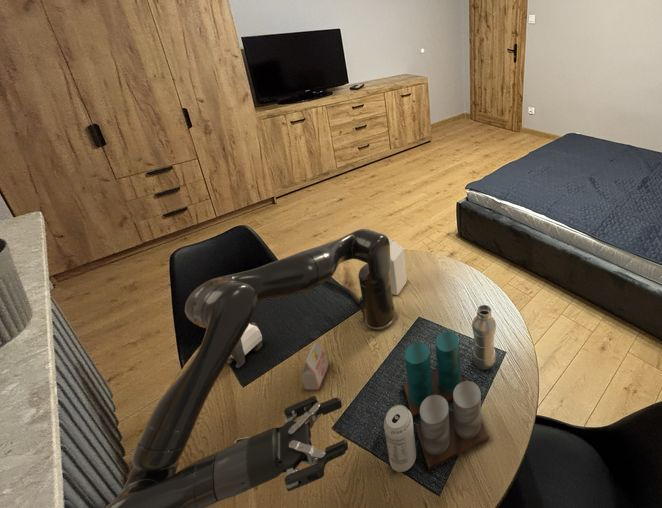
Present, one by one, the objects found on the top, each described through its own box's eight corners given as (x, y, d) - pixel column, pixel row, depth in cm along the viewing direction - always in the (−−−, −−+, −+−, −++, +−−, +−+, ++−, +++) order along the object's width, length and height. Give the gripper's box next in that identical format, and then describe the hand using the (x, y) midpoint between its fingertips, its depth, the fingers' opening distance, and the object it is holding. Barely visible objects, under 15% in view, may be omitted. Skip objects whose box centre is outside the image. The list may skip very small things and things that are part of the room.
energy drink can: (422, 453, 84) (417, 411, 78) (404, 480, 79) (398, 437, 73) (402, 438, 87) (396, 396, 81) (384, 463, 82) (376, 421, 76)
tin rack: (428, 470, 81) (425, 436, 76) (416, 430, 89) (413, 397, 84) (488, 439, 87) (489, 405, 82) (472, 404, 94) (472, 371, 89)
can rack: (413, 418, 91) (408, 373, 85) (403, 387, 99) (398, 343, 92) (467, 394, 97) (467, 350, 90) (454, 365, 104) (453, 323, 98)
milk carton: (406, 282, 136) (402, 239, 128) (397, 295, 130) (392, 251, 122) (389, 278, 138) (384, 236, 131) (379, 291, 132) (374, 247, 124)
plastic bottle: (494, 375, 102) (495, 321, 94) (470, 370, 103) (469, 317, 95) (497, 354, 107) (498, 302, 100) (474, 351, 109) (474, 299, 101)
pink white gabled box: (305, 389, 98) (298, 363, 95) (315, 366, 105) (309, 340, 101) (318, 389, 98) (312, 363, 94) (328, 366, 105) (322, 341, 101)
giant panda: (254, 337, 114) (247, 313, 110) (267, 342, 112) (260, 319, 108) (208, 377, 102) (198, 353, 98) (221, 385, 100) (211, 360, 96)
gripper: (240, 495, 57) (347, 446, 64) (247, 411, 69) (337, 377, 76) (251, 521, 60) (352, 472, 67) (256, 436, 72) (341, 402, 79)
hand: (344, 422), depth 71 cm, fingers open, 8 cm apart
